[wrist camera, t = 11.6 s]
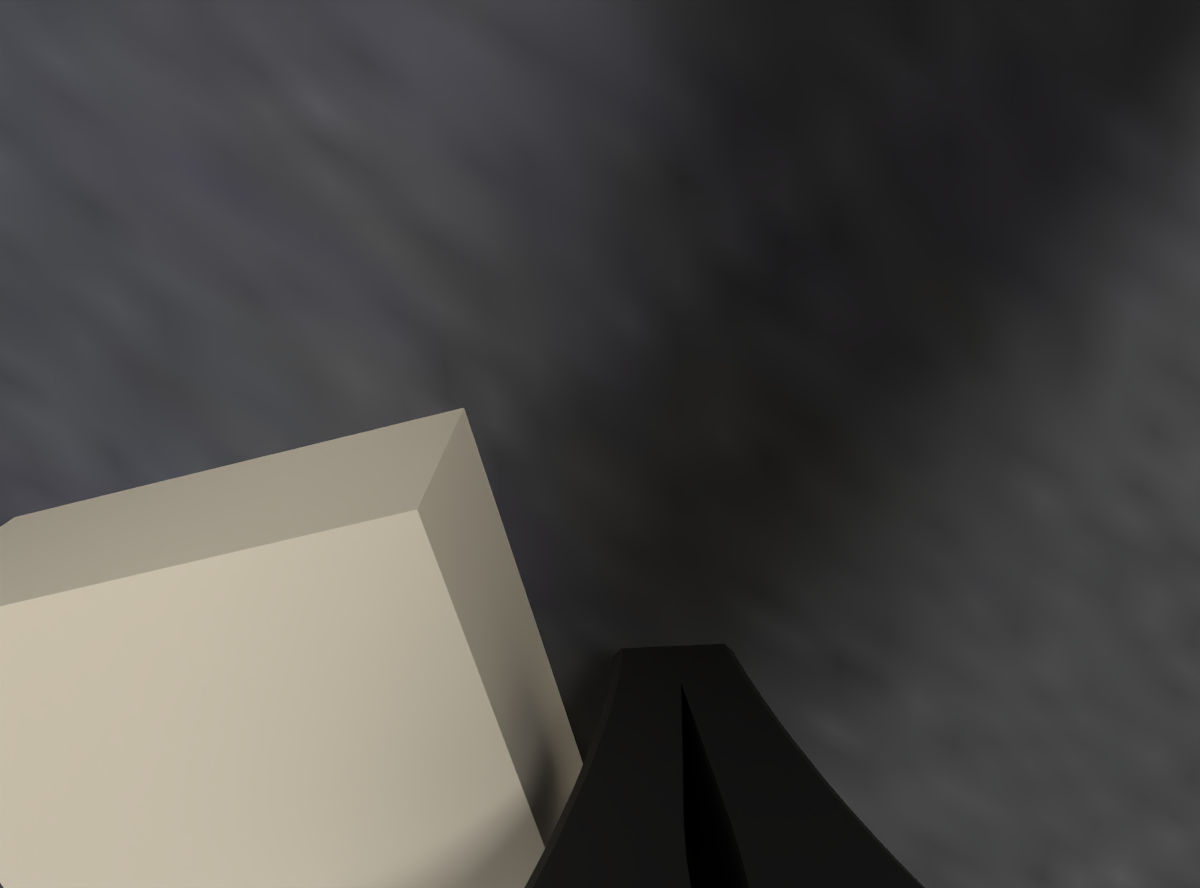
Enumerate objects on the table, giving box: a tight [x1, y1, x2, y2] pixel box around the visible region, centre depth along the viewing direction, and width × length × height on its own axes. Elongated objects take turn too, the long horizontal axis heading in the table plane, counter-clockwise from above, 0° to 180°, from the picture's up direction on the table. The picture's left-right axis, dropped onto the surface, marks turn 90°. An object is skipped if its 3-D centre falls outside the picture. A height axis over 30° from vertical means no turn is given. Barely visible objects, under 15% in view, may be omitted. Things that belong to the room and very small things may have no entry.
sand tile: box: [0, 408, 583, 888], centre depth 10 cm, size 6×6×3 cm
